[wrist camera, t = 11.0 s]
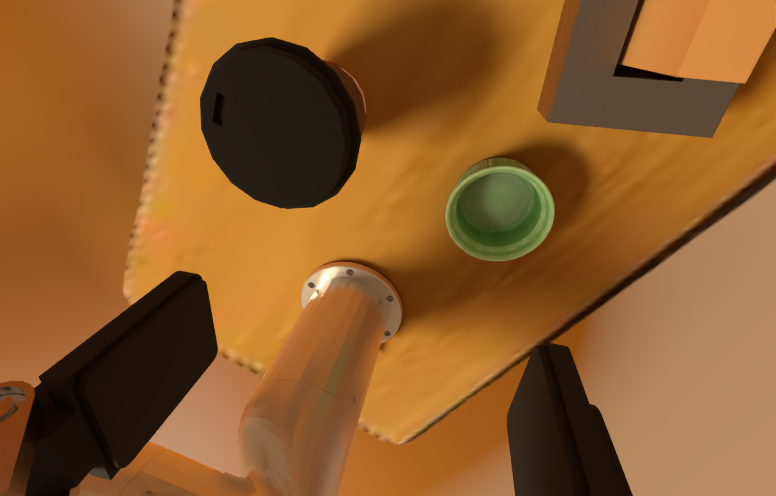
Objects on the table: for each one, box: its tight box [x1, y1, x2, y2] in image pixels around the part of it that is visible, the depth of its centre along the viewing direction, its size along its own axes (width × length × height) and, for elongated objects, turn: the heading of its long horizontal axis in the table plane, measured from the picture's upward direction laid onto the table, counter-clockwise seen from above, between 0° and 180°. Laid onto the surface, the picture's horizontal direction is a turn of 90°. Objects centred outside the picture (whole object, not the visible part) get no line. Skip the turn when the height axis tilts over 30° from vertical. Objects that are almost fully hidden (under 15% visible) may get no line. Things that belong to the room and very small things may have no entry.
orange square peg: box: [617, 0, 776, 83], centre depth 21 cm, size 3×4×12 cm
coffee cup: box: [200, 37, 366, 209], centre depth 28 cm, size 11×11×12 cm
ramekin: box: [445, 158, 555, 261], centre depth 33 cm, size 9×9×4 cm
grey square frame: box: [537, 0, 740, 138], centre depth 24 cm, size 12×11×5 cm
